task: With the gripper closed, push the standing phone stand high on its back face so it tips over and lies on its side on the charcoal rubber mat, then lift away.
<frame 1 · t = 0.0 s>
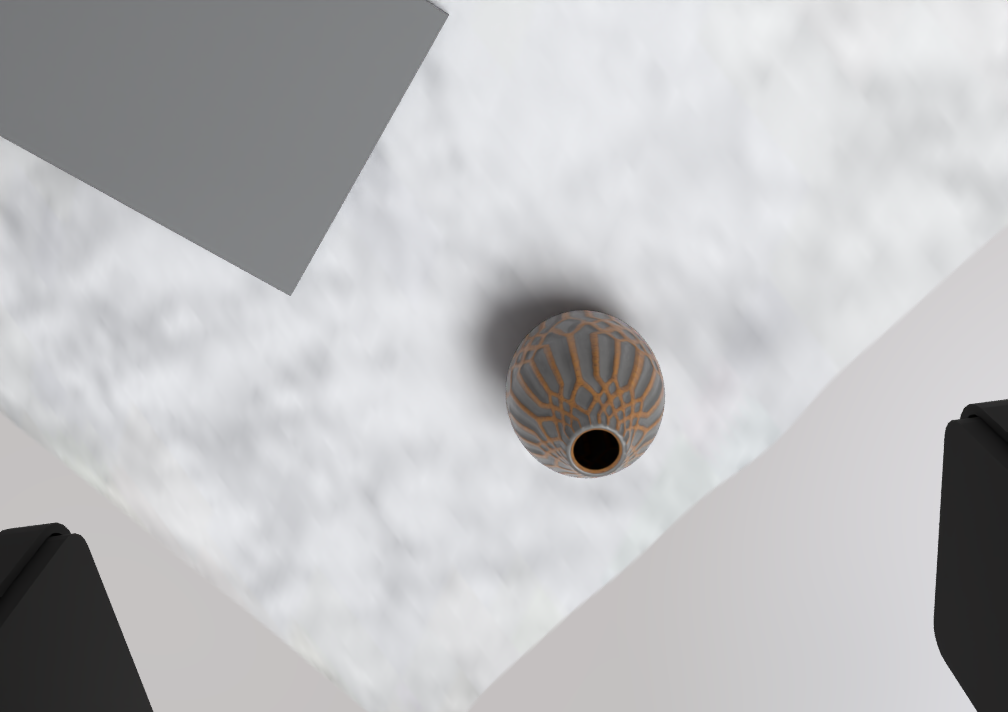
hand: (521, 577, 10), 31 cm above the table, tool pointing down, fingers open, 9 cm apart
vase: (577, 358, 43), on the table
mat: (173, 45, 37), on the table
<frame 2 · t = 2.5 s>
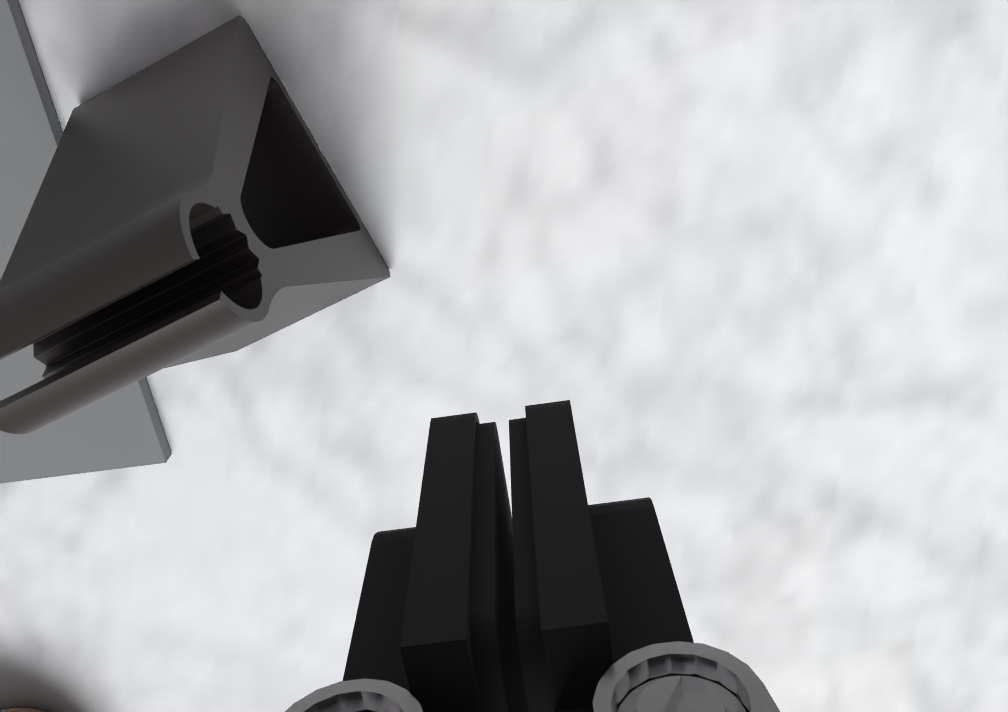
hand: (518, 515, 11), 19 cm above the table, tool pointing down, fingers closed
phone stand: (243, 191, 29), on the table
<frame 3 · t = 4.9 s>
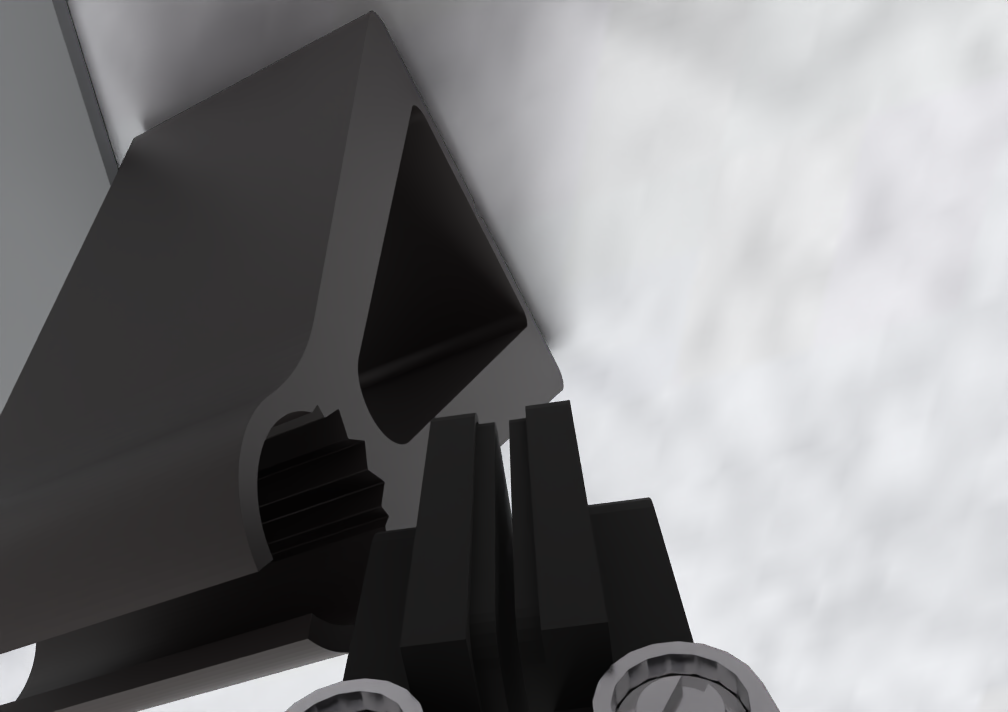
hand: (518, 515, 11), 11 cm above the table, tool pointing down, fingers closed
phone stand: (364, 257, 20), on the table, touching gripper
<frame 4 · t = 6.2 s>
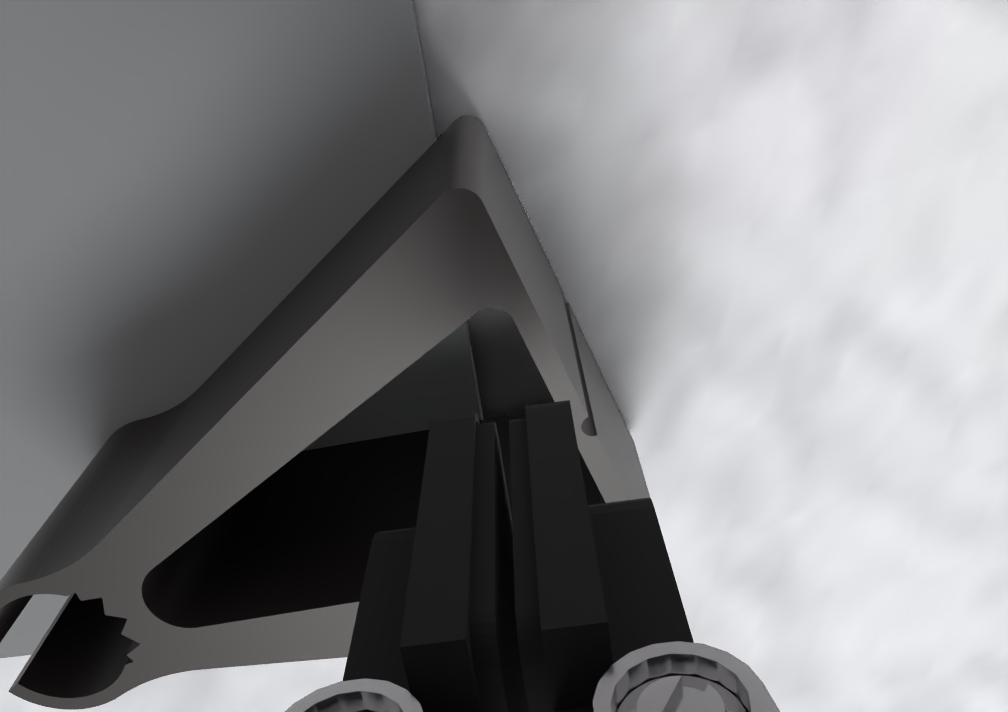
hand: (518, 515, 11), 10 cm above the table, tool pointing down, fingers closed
phone stand: (586, 346, 17), point 4 cm above the table, touching mat
mat: (155, 303, 21), on the table
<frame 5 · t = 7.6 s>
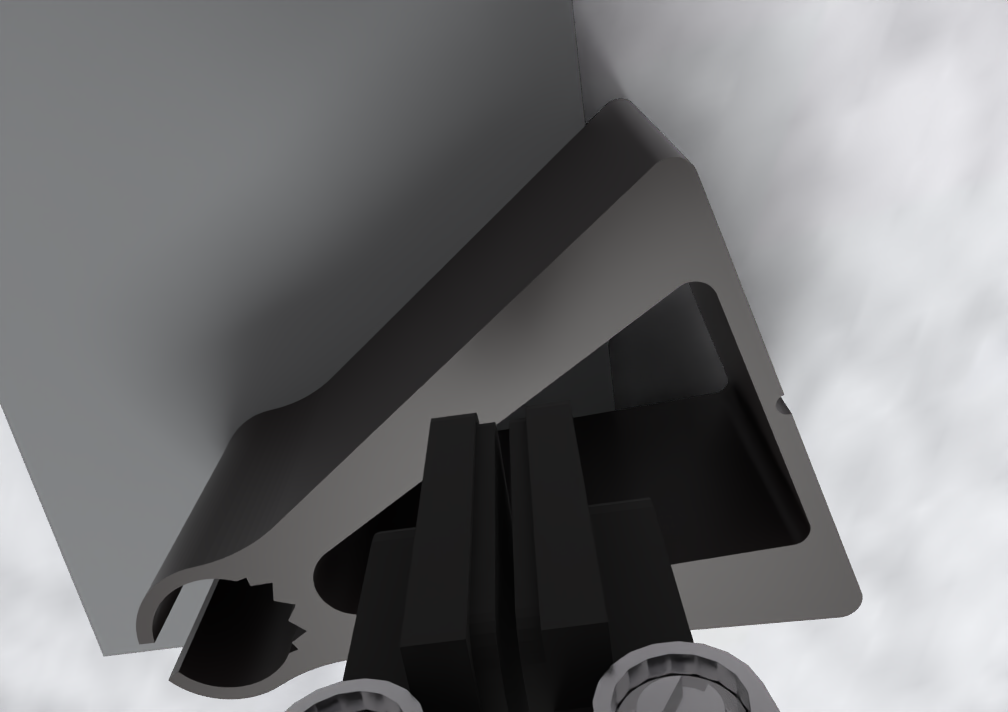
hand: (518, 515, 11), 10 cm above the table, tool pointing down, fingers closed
phone stand: (751, 329, 17), point 4 cm above the table, touching mat
mat: (288, 292, 20), on the table
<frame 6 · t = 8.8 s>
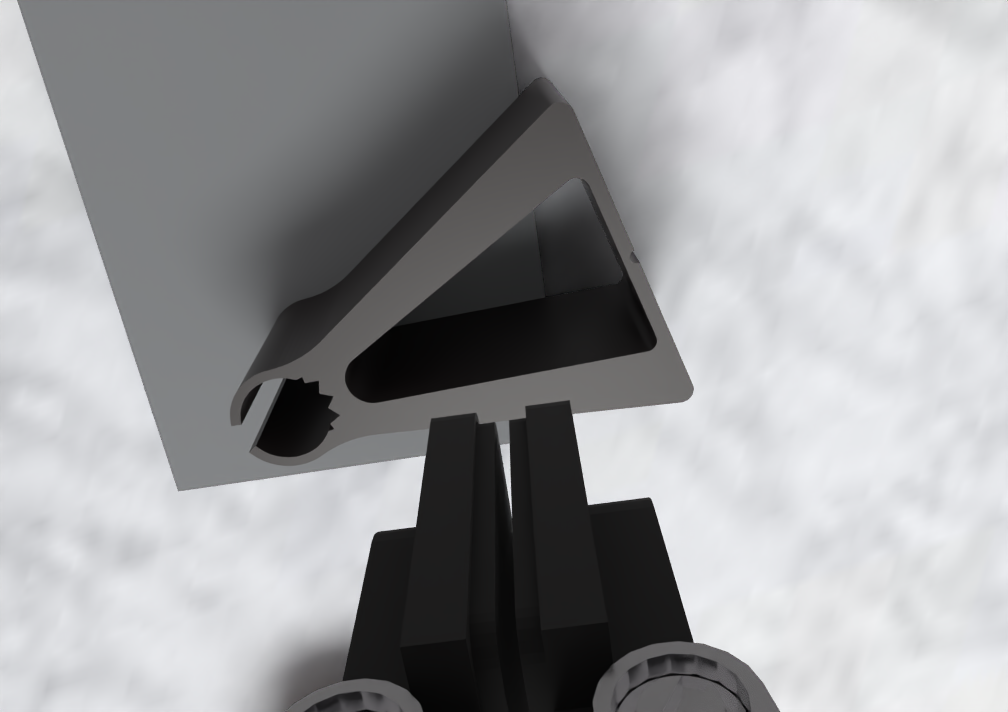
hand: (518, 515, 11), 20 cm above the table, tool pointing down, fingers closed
phone stand: (625, 224, 26), point 4 cm above the table, touching mat
mat: (317, 215, 30), on the table
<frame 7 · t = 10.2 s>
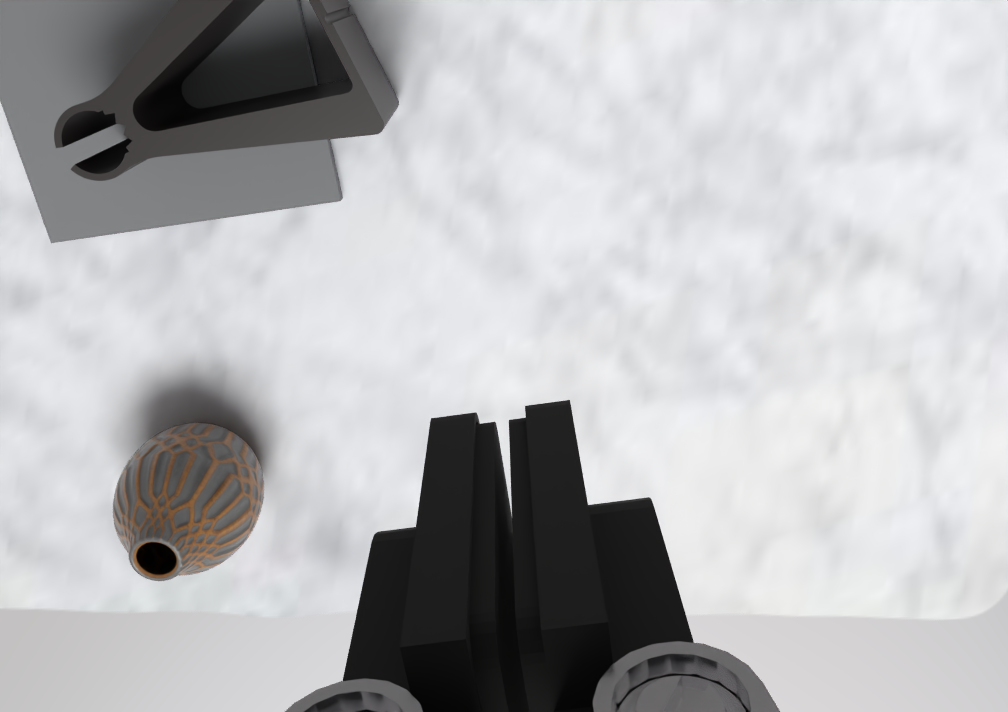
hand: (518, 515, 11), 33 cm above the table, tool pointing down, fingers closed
vase: (212, 459, 49), on the table
phone stand: (346, 11, 36), point 4 cm above the table, touching mat
mat: (141, 19, 40), on the table
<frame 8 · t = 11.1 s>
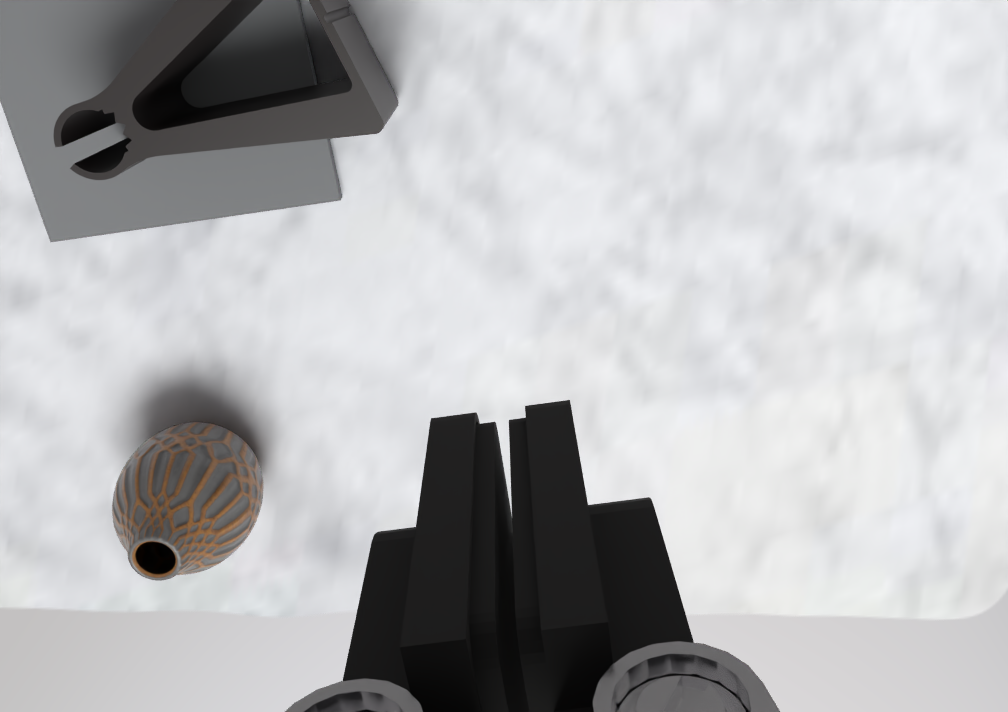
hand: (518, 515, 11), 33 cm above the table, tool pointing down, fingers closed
vase: (211, 458, 49), on the table
phone stand: (346, 11, 36), point 4 cm above the table, touching mat
mat: (141, 19, 40), on the table
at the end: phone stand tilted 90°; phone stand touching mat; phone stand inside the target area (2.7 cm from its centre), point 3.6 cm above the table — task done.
